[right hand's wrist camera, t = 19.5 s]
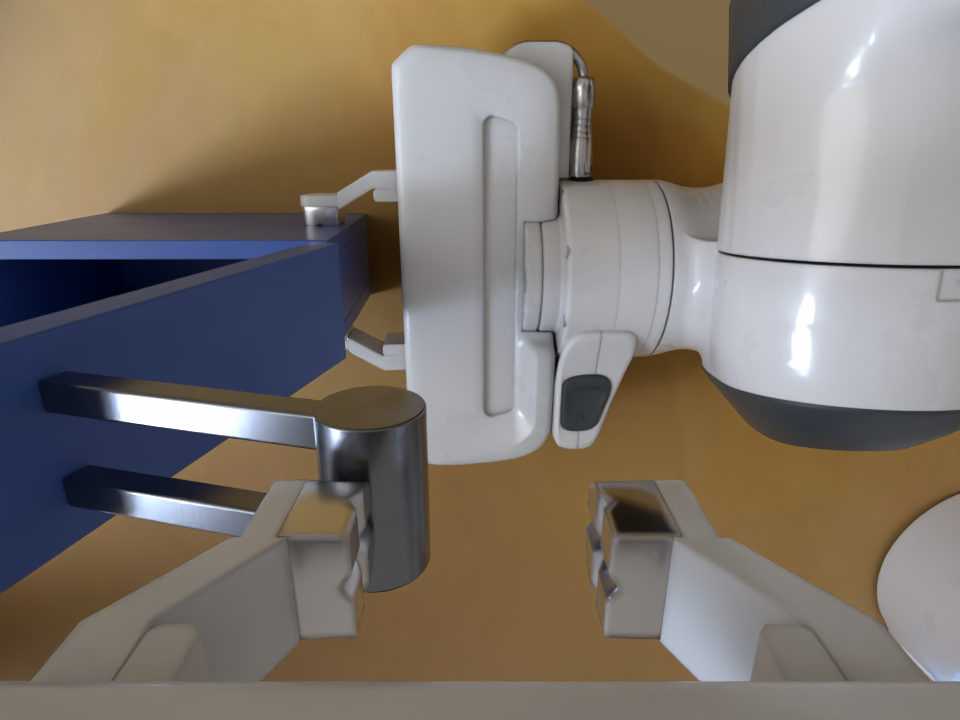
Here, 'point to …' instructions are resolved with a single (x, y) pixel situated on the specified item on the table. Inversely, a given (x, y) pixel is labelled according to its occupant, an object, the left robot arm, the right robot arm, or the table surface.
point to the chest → (158, 256)
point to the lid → (197, 411)
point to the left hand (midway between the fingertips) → (310, 273)
